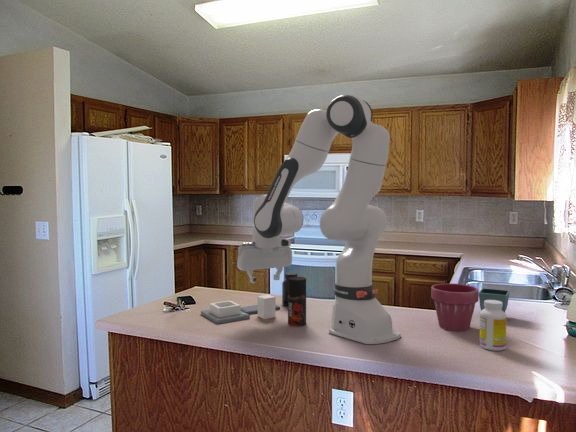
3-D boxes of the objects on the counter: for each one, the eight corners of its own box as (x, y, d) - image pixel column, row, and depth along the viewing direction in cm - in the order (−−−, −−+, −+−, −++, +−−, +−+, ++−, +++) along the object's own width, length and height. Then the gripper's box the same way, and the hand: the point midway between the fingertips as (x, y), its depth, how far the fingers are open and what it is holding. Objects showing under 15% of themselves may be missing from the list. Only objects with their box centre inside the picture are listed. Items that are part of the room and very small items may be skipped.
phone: (270, 305, 173) (270, 302, 173) (280, 309, 167) (280, 306, 167) (237, 310, 165) (237, 307, 165) (246, 314, 160) (246, 312, 159)
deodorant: (309, 322, 150) (309, 277, 149) (300, 327, 145) (300, 280, 144) (293, 320, 153) (293, 276, 152) (284, 324, 148) (284, 279, 147)
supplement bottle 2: (509, 347, 127) (510, 301, 126) (501, 353, 122) (502, 305, 121) (484, 341, 131) (485, 297, 130) (475, 347, 126) (476, 301, 125)
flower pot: (481, 312, 163) (482, 287, 162) (509, 316, 158) (509, 290, 158) (477, 318, 155) (478, 292, 154) (506, 322, 150) (507, 295, 150)
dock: (249, 318, 155) (249, 306, 155) (217, 324, 149) (217, 311, 148) (231, 309, 167) (231, 298, 167) (200, 314, 160) (200, 302, 160)
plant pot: (421, 323, 150) (422, 284, 149) (456, 319, 154) (457, 281, 154) (450, 336, 136) (451, 293, 135) (488, 331, 141) (489, 290, 140)
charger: (275, 317, 157) (275, 297, 157) (264, 319, 154) (264, 298, 154) (268, 314, 161) (268, 294, 160) (257, 316, 158) (257, 296, 158)
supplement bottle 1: (298, 307, 170) (298, 275, 169) (280, 306, 171) (280, 274, 170) (301, 303, 176) (301, 272, 176) (284, 302, 178) (284, 271, 177)
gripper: (242, 244, 148) (242, 286, 149) (294, 240, 159) (294, 280, 160) (233, 242, 153) (233, 282, 154) (285, 238, 164) (284, 276, 165)
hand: (264, 281), depth 157 cm, fingers open, 8 cm apart
